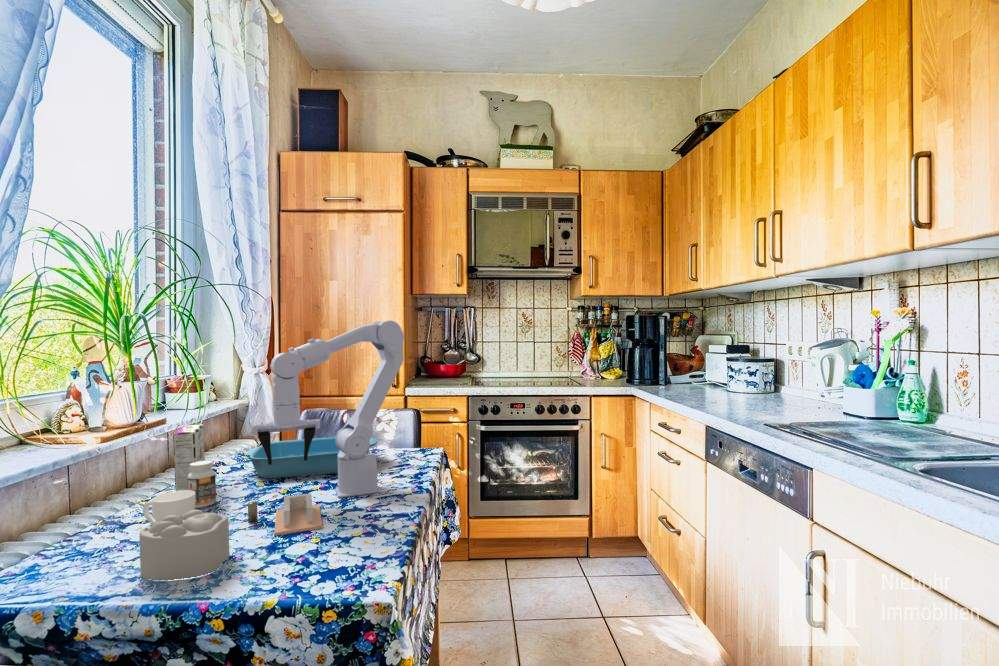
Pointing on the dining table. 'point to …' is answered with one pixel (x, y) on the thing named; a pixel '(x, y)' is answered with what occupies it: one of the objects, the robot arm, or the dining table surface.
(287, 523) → the link
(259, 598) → the dining table surface
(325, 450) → the casserole dish
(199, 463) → the pill bottle
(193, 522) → the lumpy-topped squat cylinder
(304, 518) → the trivet
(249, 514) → the stand
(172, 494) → the cup
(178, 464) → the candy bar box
